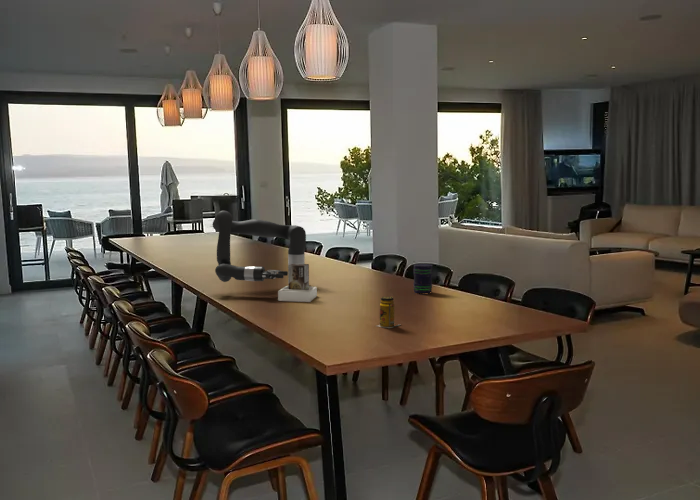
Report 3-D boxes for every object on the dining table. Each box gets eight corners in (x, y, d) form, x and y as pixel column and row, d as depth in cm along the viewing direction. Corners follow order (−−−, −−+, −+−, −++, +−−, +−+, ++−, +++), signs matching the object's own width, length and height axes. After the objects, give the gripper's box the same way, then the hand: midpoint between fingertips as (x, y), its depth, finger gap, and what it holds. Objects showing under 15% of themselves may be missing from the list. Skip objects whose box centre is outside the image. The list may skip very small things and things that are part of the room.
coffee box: (309, 295, 334) (309, 263, 333) (304, 297, 328) (304, 265, 326) (292, 294, 337) (292, 263, 335) (287, 296, 331) (287, 264, 329)
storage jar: (434, 292, 351) (434, 264, 349) (428, 295, 342) (429, 266, 340) (416, 290, 355) (417, 263, 353) (410, 293, 346) (410, 265, 344)
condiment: (375, 326, 270) (375, 297, 269) (387, 322, 277) (387, 294, 275) (389, 329, 266) (389, 299, 264) (401, 325, 272) (402, 296, 271)
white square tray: (286, 295, 339) (286, 285, 339) (316, 296, 337) (316, 286, 336) (278, 300, 324) (278, 291, 323) (309, 301, 321) (309, 292, 321)
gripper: (250, 268, 328) (281, 269, 325) (258, 264, 342) (289, 265, 339) (250, 283, 328) (282, 284, 326) (258, 278, 342) (289, 279, 340)
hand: (285, 274), depth 333 cm, fingers open, 8 cm apart
